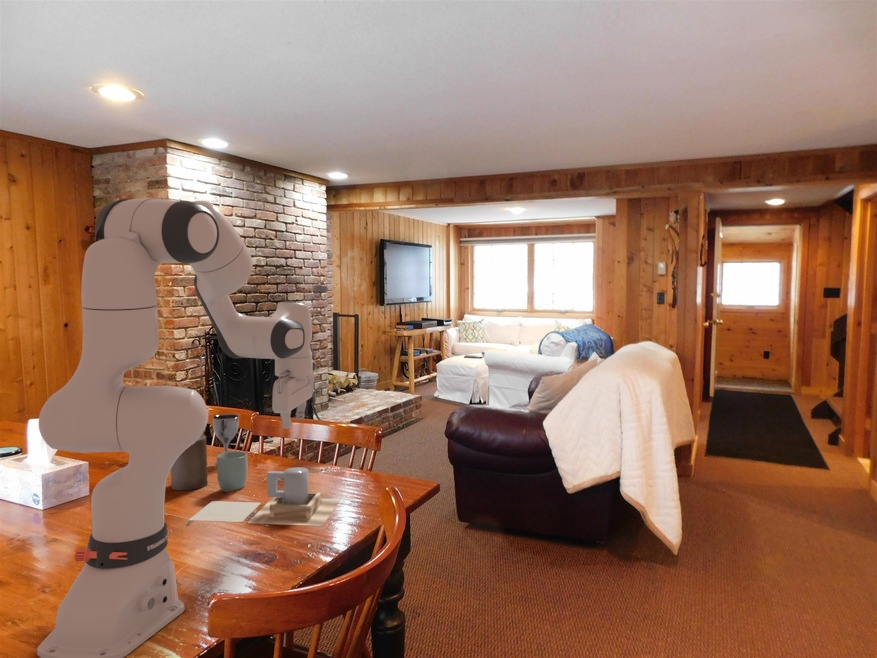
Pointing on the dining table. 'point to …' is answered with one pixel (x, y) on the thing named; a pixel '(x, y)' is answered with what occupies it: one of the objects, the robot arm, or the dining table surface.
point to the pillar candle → (191, 467)
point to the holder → (296, 511)
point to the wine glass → (225, 428)
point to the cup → (232, 470)
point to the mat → (225, 511)
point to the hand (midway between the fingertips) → (293, 423)
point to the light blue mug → (290, 485)
